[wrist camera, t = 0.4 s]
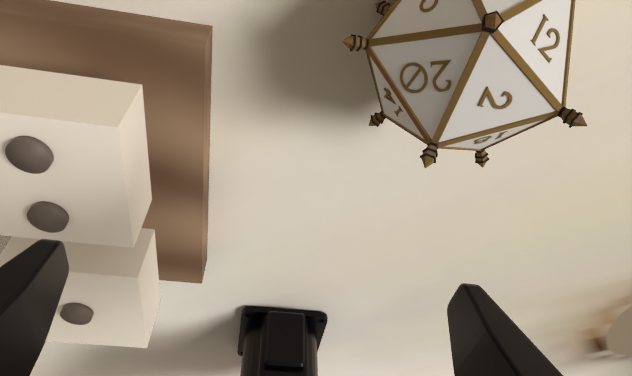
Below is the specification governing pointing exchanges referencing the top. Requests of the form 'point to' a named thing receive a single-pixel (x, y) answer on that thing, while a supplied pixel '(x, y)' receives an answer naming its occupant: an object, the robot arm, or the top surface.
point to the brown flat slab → (159, 103)
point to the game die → (470, 69)
